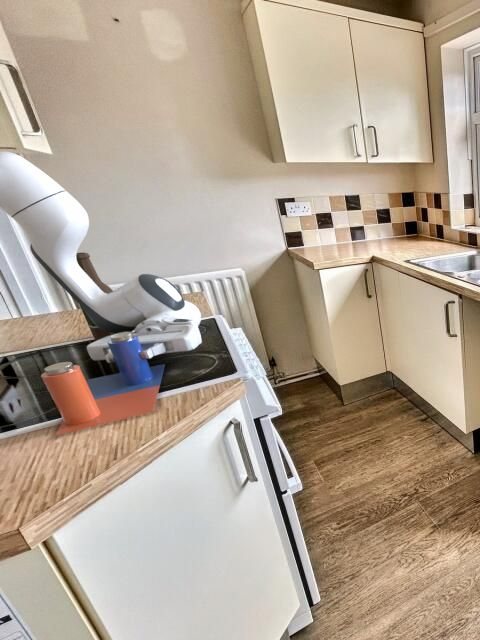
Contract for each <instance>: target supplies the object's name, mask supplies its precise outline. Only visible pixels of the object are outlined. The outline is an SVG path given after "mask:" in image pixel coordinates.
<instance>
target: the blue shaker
mask: <svg viewBox="0 0 480 640" xmlns="http://www.w3.org/2000/svg"><path fill="white" fill-rule="evenodd" d="M132 333H133V331H132V332H122V333H117V334H114V335H112V336H110V339H111V340H109V341H108V342H107V343H108V345H109V348H110V350H111V352H112V355H113V357H114V359H115V362H114V363H115V364H116V367H117V368H118V371H119V373H120V374H121V376H122V378H123V381H124V383H125V385H138V384H142V383H145V382H147V381H150V380H151V379H152V378H153V377H154V376H153V374H152V371H151V369H150V367H151V366H150V364H149V361H148V359H142V358H141V356H140V352H141V351H142V350H143V348H142V346H141V343H140V341H139V338H138V336H137V335H133V334H132Z"/></svg>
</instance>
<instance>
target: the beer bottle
mask: <svg viewBox="0 0 480 640" xmlns="http://www.w3.org/2000/svg"><path fill="white" fill-rule="evenodd" d="M90 257H91V255H90V254H89V252H77V254H76V259H77V262H78V264H79V266H80V267H81V269H82V270H83V271H84V272H85V273H86V274H87V275H88V276H89V277H90V278H91V279H92V281H93V282H94V283H95V284H96V285H97V286H98V287H99V288H100V289H101V290H102V291H103V292H104V293H107V294H109V293H111V292H112V291H114V290H113V289H112V288H111V287H110V286H109V285H107V284H106V283H104V282H103V281H102V280H101V278H100V277H99V275H98V272H97V271H96V269H95V267H94V265H93V263H92V261H91V259H90ZM79 308H80V310H81V312H82V314H83V316H84V319H85V321H86V323H87V325H88V327H89V330H90V332H91V334H92V336H93V338H94V341H97V340H99V339H101V338H104V337H107V336H111V335H114V334H115V333H109V332H106V331H103V330H101V329H100V328H98V327H97V326H96V325H95V324H94V323H93V322H92V321H91V319H90V318H89V316H88V315H87V313H86V312H85V310H84V309H83V308H82V307H81V306H80V305H79Z"/></svg>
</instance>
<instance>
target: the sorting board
mask: <svg viewBox="0 0 480 640" xmlns="http://www.w3.org/2000/svg"><path fill="white" fill-rule="evenodd" d="M165 366H166V364H165V363H163V364H158V365H154V366H153V365H152V366H150V369H151V371H152V374H153V376H154V377H153V378H152V379H151V380H150V381H147V382H145V383H142V384H138V385H125V383H124V381H123V378H122V376H121V374H120V372H117V373H114V374H113V373H112V374H108V375H103V376H99V377H94V378H93V377H92V378H88V379H86V381H87V383H88V386H89V388H90V390H91V392H92V394H93V396H94V399H95V401H96V403H97V405H98V407H99V409H100V412H101V414H100V415H99V416H98V417H96V418H94V419H92V420H90V421H88V422H85V423H81V424H76V425H67V424H65V422H64V420H63V419H62V422H61V424H60V425H59V427H58V429H57V430H56V432H55V434H54V437H56V436H60V435H64V434H68V433H72V432H77V431H80V430H81V431H82V430H85V429H89V428H93V427H96V426H97V427H98V426H101V425H105V424H109V423H114V422H118V421H122V420H125V419H130V418H134V417H138V416H143V415H147V414H150V413H154V411H155V407H156V402H157V398H158V395H159V390H160V387H161V382H162V378H163V374H164V371H165Z"/></svg>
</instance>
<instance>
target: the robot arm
mask: <svg viewBox="0 0 480 640" xmlns="http://www.w3.org/2000/svg"><path fill="white" fill-rule="evenodd" d="M0 209H1V210H2V211H3V212H4V213H6V214H7V215H8V216H9V217H10V218H11V219H13V220H14V221H15V222H16V223H18V225H19V226H20V227H21V228H22V230H23V231H24V232H25V234H26V235H27V237H28V239H29V241H30V246H29V249H30V252H31V254H32V255H33V257H34V258H35V259H36V261H37V263H39V264H40V265H41V266H42V267H43V268H44V269H45V271H47V273H48V274H49V275H50V276H51V277H52V278H53V279H54V280H55V281H56V283H58V284H59V285H60V286H61V287H62V289H63V290H65V292H67V294H69V296H71V297H72V299H73V300H74V301H75V302H76V303H77V304H78V305H79V307H80V306H81V307H82V308H83V309H84V310H85V312H86V313H87V315H88V316H89V318H90V319H91V321H92V322H93V323H94V324H95V325H96V326H97V327H98V328H100V329H101V330H103V331H106V332H109V333H115V334H117V333H122V332H132V334H133V335H137V336H138V338H139V341H140V343H141V346H142V348H143V350H142V351H141V352H140V356H141V358H142V359H147V360H149V359H152V358H153V357H156V356H159V355H163V354H172V353H173V354H174V353H181V352H183V353H184V352H189V351H193V350H195V349H196V348H197V347H198V346H199V345H201V344H202V343H203V340H202V335H201V332H200V329H199V326H200V324H201V321H202V313H201V311H200V309H199V308H198V307H197V306H196V305H195V304H194V303H193V302H190V301H188V300H185V299H184V297H183V294H181V292H180V290H179V289H178V288H177V287H176V285H174V284H173V283H172V282H170V281H169V280H168V279H166V278H163V277H161V276H159V275H155V274H150V273H141V274H140V275H138V276H136V277H134V278H132V279H130V280H129V281H127V282H126V283H124V284H123V285H121V286H119V287H118V288H116V289H114V290H113V291H112V292H111V293H109V294H107V293H104V292H103V291H102V290H101V289H100V288H99V287H98V286H97V285H96V284H95V283H94V282H93V281H92V279H91V278H90V277H89V276H88V275H87V274H86V273H85V272H84V271H83V270H82V269H81V267H80V266H79V264H78V262H77V259H76V254H77V253H78V250H79V248H80V246H81V244H82V243H83V241H84V239H85V238H86V236H87V235H88V231H89V228H90V218H89V214H88V212H87V211H86V209H85V208H84V207H83V205H82V204H81V203H80V202H79V201H78V200H77V199H76V198H75V197H74V196H73V195H72V194H71V193H70V192H69V191H67V190H66V189H65V188H64V187H63V186H62V185H60V184H59V183H58V182H57V181H56V180H54V179H53V178H52V177H51V176H49V175H48V174H47V173H46V172H44V171H43V170H42V169H40V168H39V167H38V166H36V165H35V164H33V163H32V162H30V161H29V160H27V159H26V158H25V157H23V156H21V155H19V154H17V153H14V152H10V151H5V150H4V151H3V150H1V151H0ZM81 307H80V308H81ZM111 336H112V335H111ZM109 340H111V339H110V336H107V337H104V338H101V339H99V340H97V341H96V340H94V341H93V342H91V343H89V344H87V346H86V351H87V353H88V355H89V357H90V359H92V360H93V361H104V360H105V361H106V362H107V363H108V364H112V363H116V362H115V359H114V357H113V355H112V352H111V350H110V348H109V345H108V343H107V342H108V341H109Z"/></svg>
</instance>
